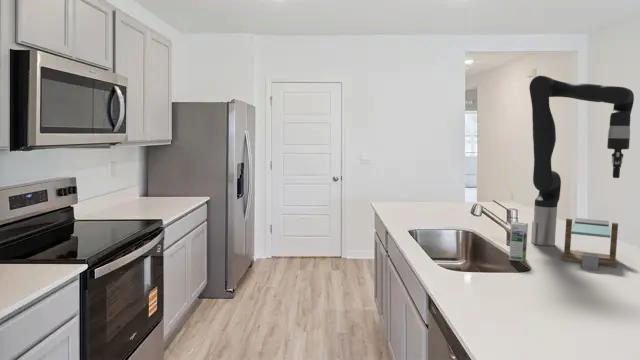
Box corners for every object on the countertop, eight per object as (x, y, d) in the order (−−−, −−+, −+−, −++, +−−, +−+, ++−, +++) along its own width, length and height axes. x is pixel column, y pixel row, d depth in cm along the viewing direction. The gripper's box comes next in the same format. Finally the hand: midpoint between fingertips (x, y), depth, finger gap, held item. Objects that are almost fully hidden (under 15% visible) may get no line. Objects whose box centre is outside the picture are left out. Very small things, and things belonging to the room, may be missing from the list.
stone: (582, 252, 178) (582, 265, 178) (582, 255, 173) (582, 268, 174) (598, 254, 175) (597, 267, 176) (598, 256, 171) (597, 270, 171)
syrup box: (508, 260, 183) (510, 223, 182) (510, 257, 189) (512, 221, 187) (524, 262, 181) (527, 224, 179) (526, 258, 186) (528, 222, 185)
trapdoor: (573, 227, 201) (574, 217, 200) (609, 230, 194) (610, 221, 193) (570, 240, 183) (571, 230, 183) (609, 244, 177) (610, 234, 176)
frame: (565, 251, 201) (567, 217, 199) (615, 257, 191) (617, 221, 190) (561, 260, 184) (564, 223, 183) (616, 267, 175) (618, 229, 174)
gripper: (630, 137, 184) (627, 179, 185) (629, 137, 196) (626, 176, 197) (608, 137, 187) (605, 177, 189) (607, 137, 200) (605, 175, 201)
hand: (615, 177), depth 193 cm, fingers open, 8 cm apart
